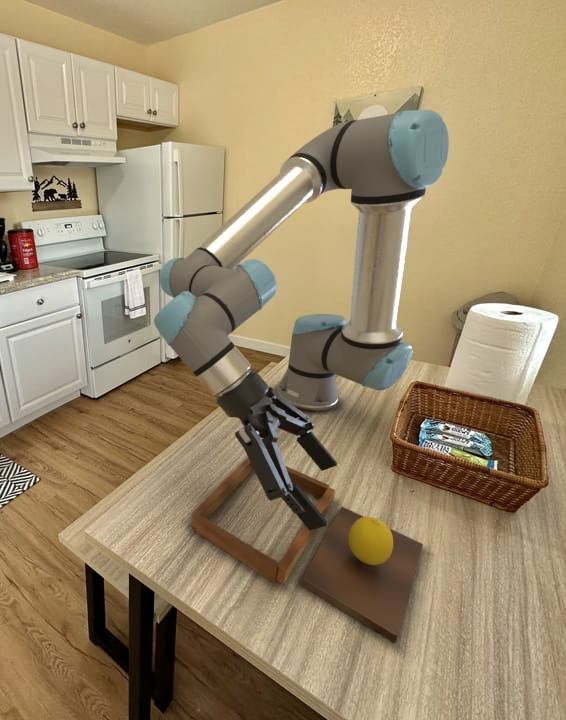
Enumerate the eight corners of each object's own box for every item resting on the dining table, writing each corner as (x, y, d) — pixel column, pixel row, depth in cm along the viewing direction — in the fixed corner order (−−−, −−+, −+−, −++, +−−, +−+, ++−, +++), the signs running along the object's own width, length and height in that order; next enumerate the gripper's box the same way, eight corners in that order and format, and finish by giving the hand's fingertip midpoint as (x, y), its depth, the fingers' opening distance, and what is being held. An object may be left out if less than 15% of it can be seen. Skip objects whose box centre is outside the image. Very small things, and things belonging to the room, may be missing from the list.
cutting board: (340, 512, 68) (341, 506, 67) (420, 550, 60) (423, 543, 60) (300, 584, 56) (301, 577, 55) (394, 643, 48) (397, 636, 48)
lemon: (391, 580, 54) (406, 539, 51) (349, 573, 56) (361, 533, 52) (378, 547, 59) (390, 508, 56) (339, 542, 60) (349, 503, 57)
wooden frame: (251, 463, 81) (253, 451, 79) (333, 500, 70) (336, 488, 69) (189, 528, 65) (189, 515, 64) (281, 588, 55) (284, 573, 54)
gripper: (239, 364, 70) (314, 455, 69) (182, 436, 50) (287, 564, 49) (271, 342, 65) (353, 439, 64) (224, 411, 46) (340, 552, 45)
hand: (324, 494), depth 57 cm, fingers open, 13 cm apart
